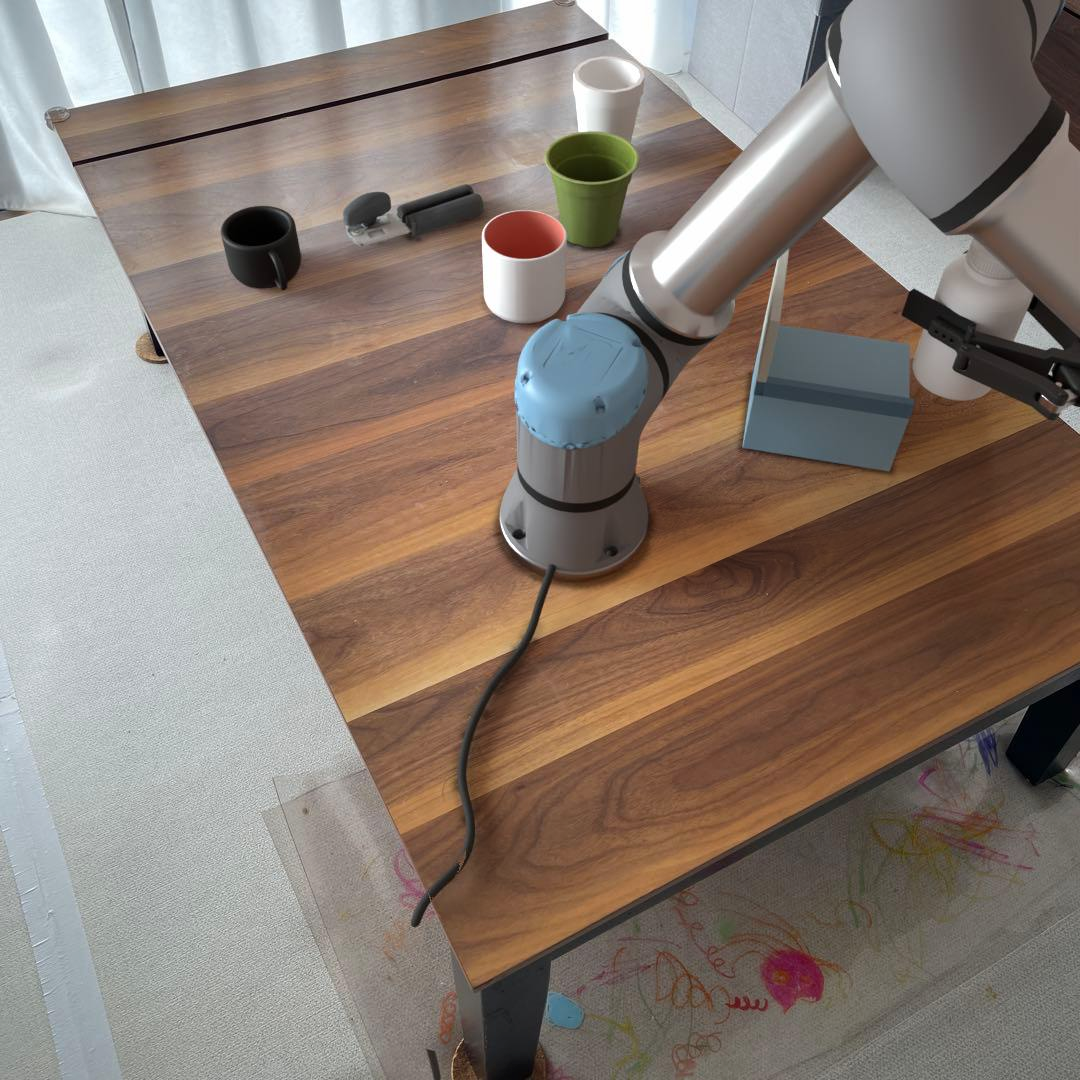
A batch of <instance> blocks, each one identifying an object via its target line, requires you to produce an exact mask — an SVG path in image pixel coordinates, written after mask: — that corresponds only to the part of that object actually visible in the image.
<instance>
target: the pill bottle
mask: <svg viewBox="0 0 1080 1080" xmlns="http://www.w3.org/2000/svg"><path fill="white" fill-rule="evenodd" d="M967 250H968V251H967ZM967 250H966V251H967V253H965V254H963V253H962V254H959V255H958V256H956V257H955V258H953V259H952V260H951V261H950V262H949V263H948V265H947V266H946V267H945V269H944V271H943V272H942V275H941V278H940V281H939V283H938V286H937V289H936V292H935V295H934V298H933V299H934V300H936V301H937V302H939V303H941V304H943V305H944V306H946V307H948V308H950V309H951V310H953V311H954V312H955V313H957V314H959V315H961V316H963V317H965V318H967V319H969V320H971V321H973V322H974V323H975V324H977V325H976V328H975V331H977V332H981V333H985V334H988V335H992V336H996V337H999V338H1003V339H1007V340H1010V341H1014V342H1015V339H1016V337H1017V335H1018V333H1019V330H1020V328H1021V326H1022V323H1023V321H1024V319H1025V316H1026V314H1027V312H1028V311H1027V309H1028V307H1029V305H1030V302H1031V300H1032V297H1033V293H1032V292H1031V291H1030V290H1029V289H1027V288H1026V287H1025V286H1024V285H1023V284H1022V283H1021V282H1020V281H1019V280H1018V279H1017V278H1016V277H1015V276H1014V275H1013V274H1011V273H1010V272H1009V271H1008V270H1007V269H1006V268H1005V267H1004V266H1003V265H1002V264H1001V263H1000V262H999V261H998V260H997V259H996V258H994V257H993V256H992V255H991V254H990V253H989V252H988V251H987V250H986V249H985V248H984V247H983V246H982V245H981V244H980V243H979V242H977V241H976V240H975V239H974V238H973V237H972V240H971V242H970V244H969V247H968V249H967ZM976 347H978V348H980V346H979V345H976ZM956 356H957V353H956V351H955V350H954V349H952V348H950V347H949V346H947V345H945V344H944V343H942V342H941V341H938V340H937V339H935V338H933V337H932V336H930V334H929V333H928V331H927V330H926V329H924V328H923V330H922V331H921V335H920V338H919V341H918V344H917V347H916V349H915V353H914V356H913V360H912V371H913V375H914V377H915V379H916V380H917V382H918V383H919V385H921V386H922V387H923V388H924V389H925V390H927V391H929V392H930V393H931V394H934V395H936V396H938V397H941V398H944V399H947V400H952V401H960V402H961V401H963V402H964V401H965V402H966V401H973V400H977V399H980V398H982V397H983V396H986V395H987V394H988V393H989V392H990V391H992V390H993V389H992V388H990V387H988V386H985V385H983V384H981V383H979V382H977V381H974V380H972V379H970V378H968V377H966V376H963V375H961V374H959V373H957V372H955V371H954V370H953V369H952V367H953V364H954V361H955V359H956ZM969 363H970V362H969Z"/></svg>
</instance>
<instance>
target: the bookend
mask: <svg viewBox="0 0 1080 1080" xmlns="http://www.w3.org/2000/svg"><path fill="white" fill-rule="evenodd" d="M789 255H790V248H789V249H788V250H787V251H786V252H785V253H784V254H783V255H782V256H780V257H779V258H778V259H777V260H776V264H775V269H774V274H773V278H772V282H771V289H770V292H769V297H768V302H767V306H766V311H765V315H764V320H763V325H762V330H761V334H760V340H759V344H758V348H757V349H758V350H757V353H756V354H757V355H756V358H755V363H754V364H755V365H754V368H753V373H752V379H751V384H750V385H751V386H750V391H749V392H750V393H749V399H748V405H747V411H746V418H745V419H746V420H745V427H744V432H743V440H742V446H741V447H742V449H747V450H753V451H760V452H766V453H772V454H777V455H785V456H790V457H791V456H792V457H797V458H803V459H808V460H815V461H821V462H828V463H833V464H839V465H847V466H851V467H857V468H864V469H870V470H876V471H883V472H891V469H892V467H893V463H894V461H895V459H896V455H897V453H898V451H899V447H900V445H901V442H902V439H903V436H904V434H905V431H906V428H907V426H908V423H909V420H910V418H911V416H912V412H913V410H914V407H915V398H914V397H913V398H912V397H910V385H911V384H910V383H911V382H910V380H911V379H910V378H911V377H910V372H911V371H910V370H911V344H910V343H905V342H897V341H892V340H884V339H878V338H870V337H864V336H857V335H850V334H844V333H837V332H830V331H823V330H817V329H811V328H810V329H809V328H803V327H796V326H790V325H782V324H781V318H782V309H783V301H784V293H785V285H786V279H787V271H788V264H789Z"/></svg>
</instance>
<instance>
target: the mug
mask: <svg viewBox="0 0 1080 1080" xmlns="http://www.w3.org/2000/svg"><path fill="white" fill-rule="evenodd" d="M220 238H221V241H222V246H223V250H224V253H225V256H226V261H227V264H228V268H229V271H230V272H231V274H232V275H233V277H234V278H236V280H237V281H238V282H239V283H241V284H242V285H243V286H246V287H249V288H251V289H252V288H253V289H258V290H259V289H260V290H265V289H266V290H267V289H273V288H278V289H279V290H280V291H285V290H287V289H288V282H290V281H291V280H292V279H293V278H295V276H296V275H297V274H298V272H299V270H300V267H301V264H302V253H301V252H302V251H301V248H300V243H299V242H300V241H299V237H298V232H297V225H296V223H295V220H294V217H292V215H291V214H290V213H289V212H287V211H286V210H284V209H282V208H279V207H276V206H271V205H253V206H248V207H244V208H241V209H239V210H237V211H235V212H233V213H232V214H230V215H229V216H228V217H227V218H226V219H225V220H224V221H223V223H222V225H221V227H220Z"/></svg>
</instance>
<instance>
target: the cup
mask: <svg viewBox="0 0 1080 1080" xmlns="http://www.w3.org/2000/svg"><path fill="white" fill-rule="evenodd" d="M481 245H482V246H481V250H482V252H481V253H482V279H483V298H484V301H485V304H486V306H487V307H488V309H489V310H490V311H491V312H492V313H493V314H494V315H495V316H497V317H498V318H500V319H501V320H505V321H507V322H511V323H513V324H514V323H515V324H526V325H527V324H535V323H539V322H543V321H545V320H548V319H549V318H551V317H552V316H554V315H555V314H557V312H558V311H559V310H561V307H562V306H563V304H564V302H565V298H566V279H567V277H566V276H567V249H568V248H567V247H568V240H567V232H566V230H565V228H564V226H563V225H562V224H561V220H558V219H557V218H556V217H554V216H552V215H550V214H547V213H545V212H542V211H538V210H531V209H521V210H520V209H517V210H511V211H507V212H503V213H500V214H498V215H496V216H495V217H493V218H492V219H490V220H489V221H488V222H487V223H486V224H485V226H484V227H483V228H482V232H481Z"/></svg>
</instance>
